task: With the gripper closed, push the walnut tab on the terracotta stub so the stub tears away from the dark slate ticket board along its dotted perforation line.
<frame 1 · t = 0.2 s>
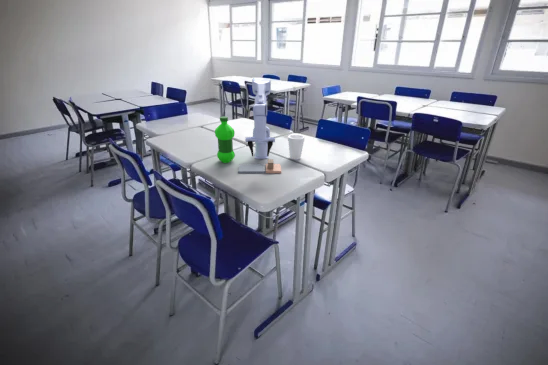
hand: (260, 155, 142), 10 cm above the table, tool pointing down, fingers open, 7 cm apart
stub: (273, 165, 149), point 3 cm above the table, slide at 0.0 cm
foam cup: (295, 158, 167), on the table
plastic bottle: (226, 161, 160), on the table
ticket board: (252, 169, 150), on the table
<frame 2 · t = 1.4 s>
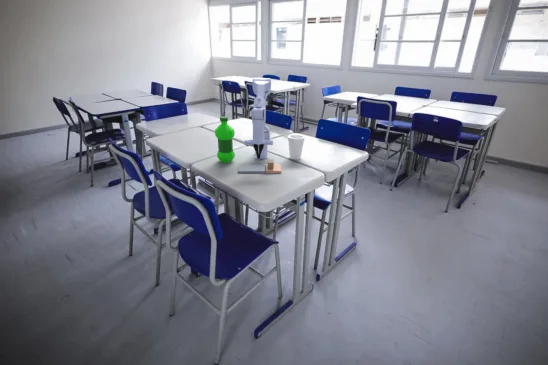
hand: (258, 157, 147), 7 cm above the table, tool pointing down, fingers closed
nothing on the table moved.
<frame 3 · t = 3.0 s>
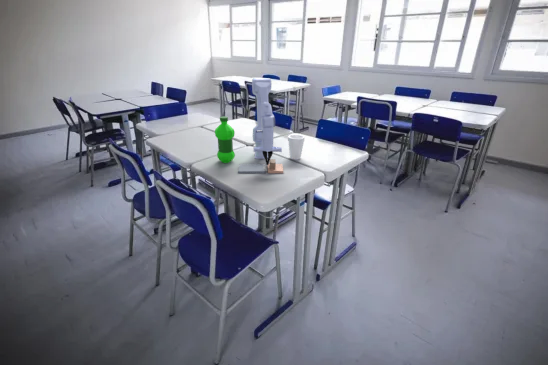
hand: (267, 164, 149), 3 cm above the table, tool pointing down, fingers closed
stub: (275, 165, 149), point 3 cm above the table, slide at 1.0 cm, touching gripper
everything else where it was.
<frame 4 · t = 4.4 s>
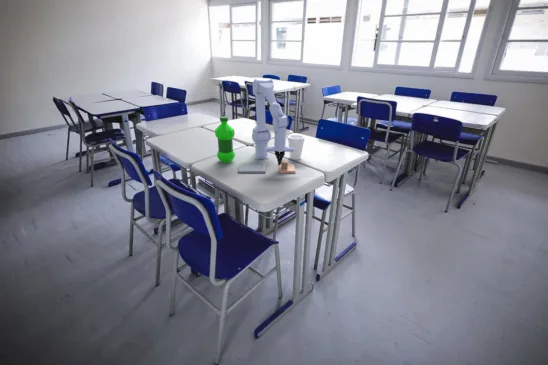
hand: (279, 164, 149), 3 cm above the table, tool pointing down, fingers closed
stub: (287, 165, 150), point 3 cm above the table, slide at 7.3 cm, touching gripper
everything else where it was.
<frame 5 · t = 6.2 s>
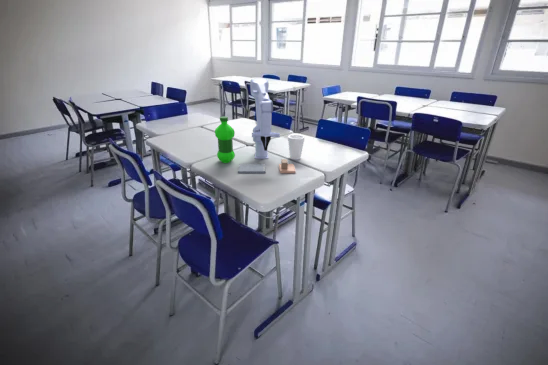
hand: (265, 150, 151), 9 cm above the table, tool pointing down, fingers closed
stub: (287, 165, 150), point 3 cm above the table, slide at 7.4 cm
everything else where it was.
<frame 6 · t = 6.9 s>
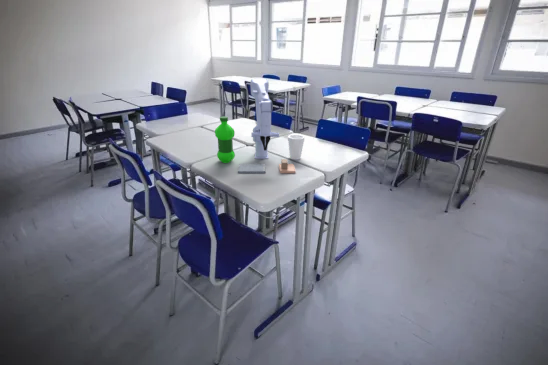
hand: (265, 149, 151), 9 cm above the table, tool pointing down, fingers closed
nothing on the table moved.
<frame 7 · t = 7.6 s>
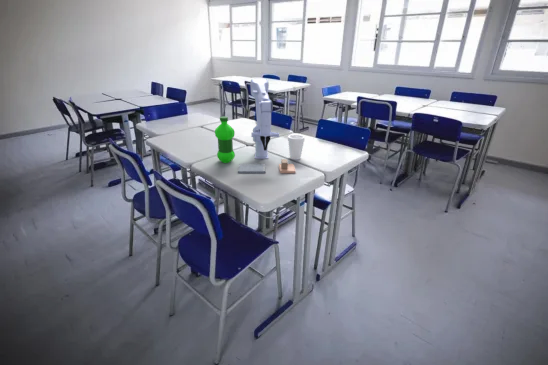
hand: (265, 149, 151), 9 cm above the table, tool pointing down, fingers closed
nothing on the table moved.
at the end: stub slide at 7.4 cm; plastic bottle moved 0.2 cm from its start; foam cup moved 0.2 cm from its start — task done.
